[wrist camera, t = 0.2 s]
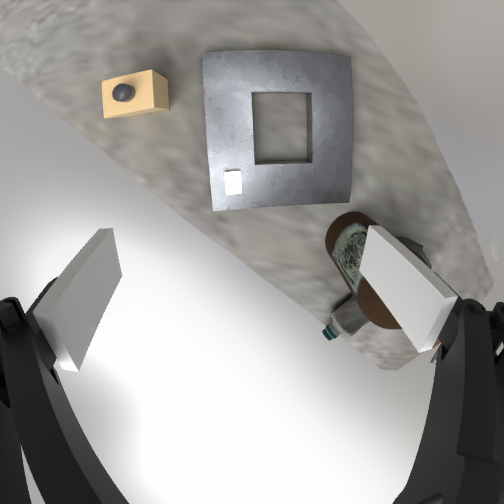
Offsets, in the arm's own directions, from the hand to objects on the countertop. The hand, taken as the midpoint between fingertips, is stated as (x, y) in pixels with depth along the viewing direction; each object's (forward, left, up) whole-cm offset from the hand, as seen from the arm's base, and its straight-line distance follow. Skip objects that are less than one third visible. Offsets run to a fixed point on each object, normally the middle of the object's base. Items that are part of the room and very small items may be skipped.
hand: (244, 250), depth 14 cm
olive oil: (+13, +19, -27) cm, 36 cm away
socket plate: (-5, +7, -27) cm, 29 cm away
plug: (-11, -11, -27) cm, 31 cm away
